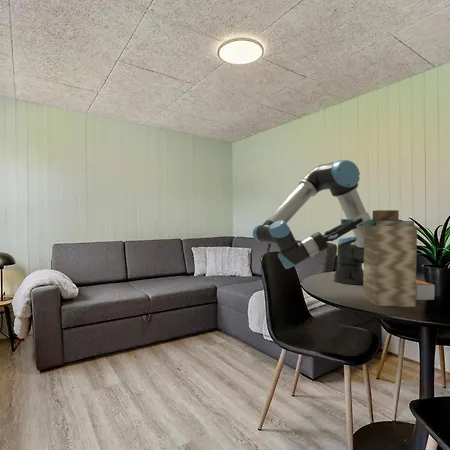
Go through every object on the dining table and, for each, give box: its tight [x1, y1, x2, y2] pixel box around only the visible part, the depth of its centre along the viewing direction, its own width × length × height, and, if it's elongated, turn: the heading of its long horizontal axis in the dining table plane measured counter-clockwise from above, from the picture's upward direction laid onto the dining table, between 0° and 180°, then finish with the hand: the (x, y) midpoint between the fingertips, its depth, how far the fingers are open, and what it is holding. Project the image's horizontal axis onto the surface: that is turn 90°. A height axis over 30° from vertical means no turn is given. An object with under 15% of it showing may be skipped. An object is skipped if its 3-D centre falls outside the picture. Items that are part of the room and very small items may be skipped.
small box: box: [416, 278, 436, 301], centre depth 128 cm, size 8×6×13 cm
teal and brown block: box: [340, 209, 400, 226], centre depth 120 cm, size 20×7×6 cm, turn 84°
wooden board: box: [362, 220, 418, 308], centre depth 120 cm, size 14×14×32 cm
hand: (367, 215), depth 120 cm, fingers closed on teal and brown block, 2 cm apart
